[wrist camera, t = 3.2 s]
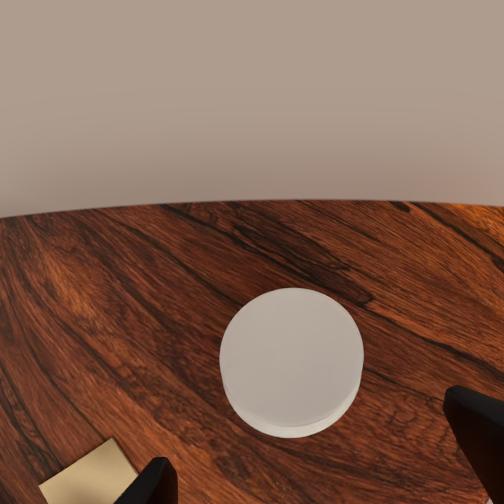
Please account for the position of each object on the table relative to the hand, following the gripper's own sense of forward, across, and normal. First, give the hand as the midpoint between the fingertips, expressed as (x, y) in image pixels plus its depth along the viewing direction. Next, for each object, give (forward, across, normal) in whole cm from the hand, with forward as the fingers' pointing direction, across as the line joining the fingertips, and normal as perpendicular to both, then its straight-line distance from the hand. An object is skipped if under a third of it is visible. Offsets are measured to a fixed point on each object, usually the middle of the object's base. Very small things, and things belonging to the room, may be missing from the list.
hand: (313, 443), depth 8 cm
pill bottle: (+9, 0, +5) cm, 11 cm away
